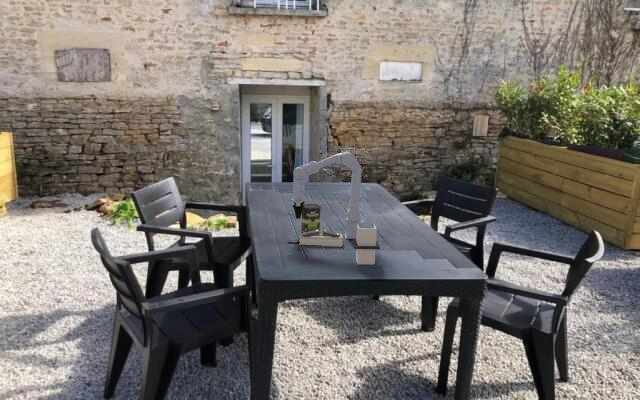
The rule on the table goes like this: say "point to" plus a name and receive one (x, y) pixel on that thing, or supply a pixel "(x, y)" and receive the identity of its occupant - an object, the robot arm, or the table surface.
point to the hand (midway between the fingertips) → (298, 216)
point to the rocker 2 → (330, 233)
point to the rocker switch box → (321, 240)
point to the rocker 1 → (311, 233)
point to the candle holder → (365, 245)
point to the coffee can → (310, 217)
